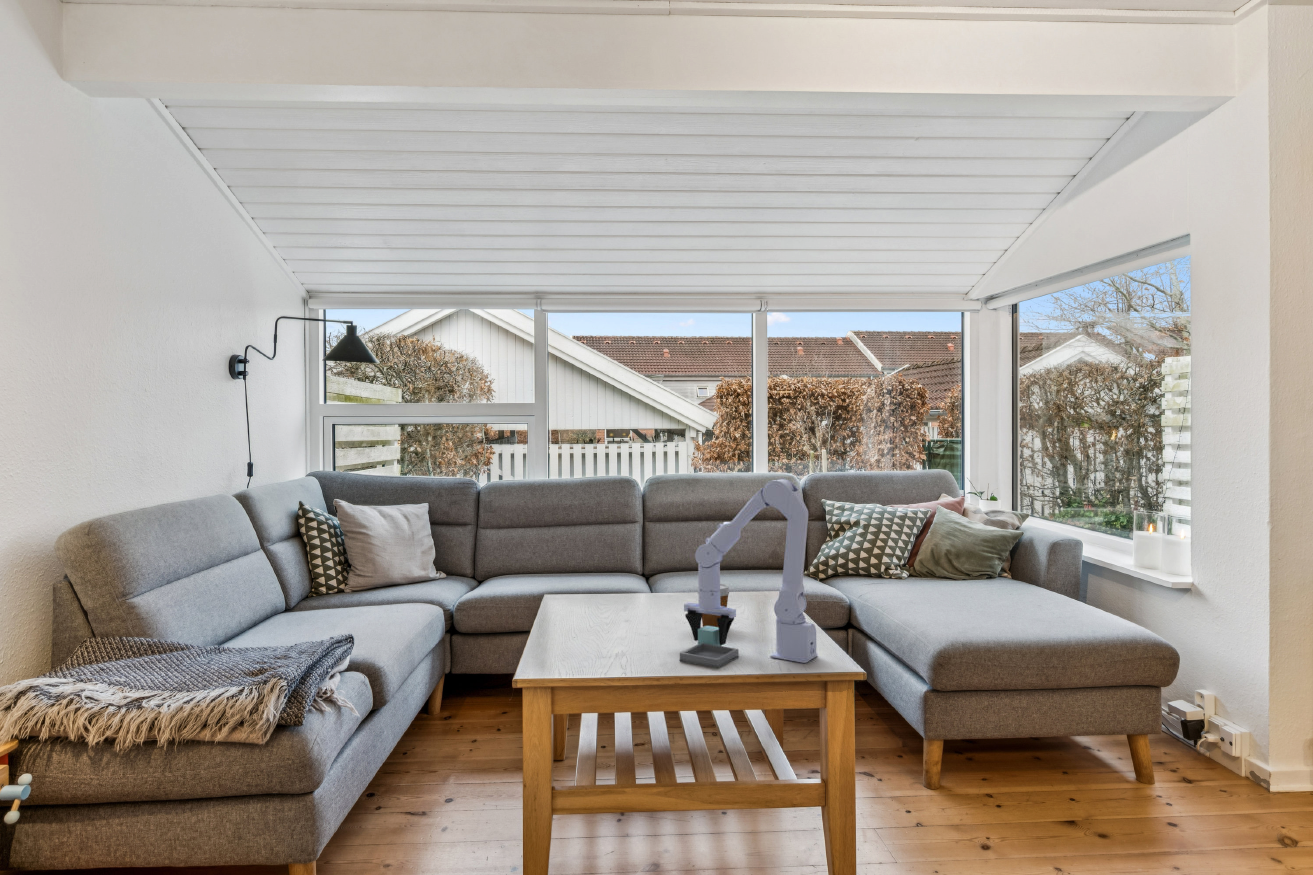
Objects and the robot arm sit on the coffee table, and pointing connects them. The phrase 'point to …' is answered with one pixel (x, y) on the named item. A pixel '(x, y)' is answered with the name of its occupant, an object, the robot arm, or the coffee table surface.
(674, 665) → the coffee table surface
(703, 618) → the disposable coffee cup
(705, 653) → the tray
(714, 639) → the teal block
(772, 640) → the coffee table surface
